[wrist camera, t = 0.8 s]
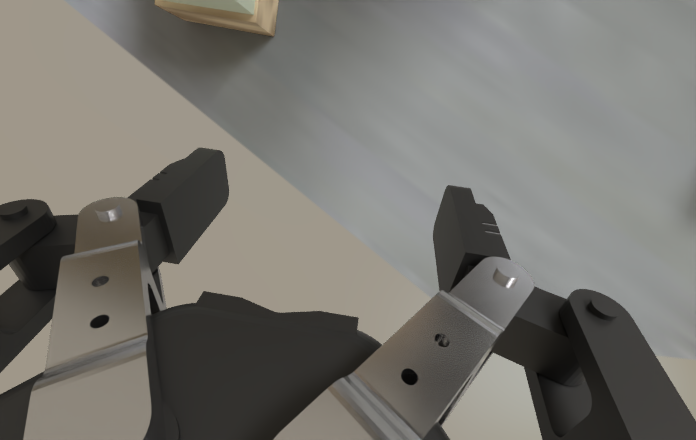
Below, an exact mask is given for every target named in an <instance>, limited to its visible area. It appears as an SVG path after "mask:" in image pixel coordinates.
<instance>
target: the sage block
mask: <svg viewBox="0 0 696 440" xmlns="http://www.w3.org/2000/svg"><path fill="white" fill-rule="evenodd" d="M163 1H169V2H175V3H181V4H188V5H194V6H200V7H206V8H213V9H219V10H225V11H231V12H238V13H244V14H250V15H254V9H255V0H163Z"/></svg>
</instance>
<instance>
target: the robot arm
mask: <svg viewBox="0 0 696 440" xmlns="http://www.w3.org/2000/svg"><path fill="white" fill-rule="evenodd" d="M228 196H229V186H228V179H227V173H226V164H225V158H224V154H223V152H222V151H220V150H213V149H206V148H198V149H197V150H195V151H194V152H193V153H191V154H190V155H189V156H188V157H186V158H185V159H182V160H179V161H177V162H175V163H172V164H170V165H168V166H167V167H166V168H164V169H163V170H162V171H161V172H160V173H158V174H157V175H156V176H154V177H153V179H152V180H149V181H148V182H147V183H145V184H144V185H143V186H142V187H140V188H139V189H138V190H137V191H135V192H134V193H133V194H131V195H130V196H129V197H128V198H123V197H113V198H106V199H102V200H99V201H96V202H93V203H91V204H89V205H87V206H86V207H84V208H83V209H82V210H81V211H80V213H79V215H60V216H59V215H58V216H53V214H52V212H51V210H50V208H49V206H48V205H47V204H46V203H45V202H43V201H41V200H34V199H27V200H18V201H13V202H9V203H5V204H2V205H0V270H1V269H3V268H4V267H5V266H7V265H8V264H9V265H10V267H11V268H12V270H13V271H14V272H15V274H16V275H17V277H18V278H19V280H18V281H17V282H16V283H15V284H13V285H12V286H11V287H10V288H9V289H8V290H6V291H5V292H4V293H3V294H2V295H0V373H1V371H2V370H3V369H4V368H5V367H6V366H7V365H8V364H9V363H10V362H11V361H12V360H13V359H14V358H15V357H16V356H17V355H18V354H19V353H20V352H21V351H22V350H23V348H24V347H25V346H26V345H27V344H28V343H29V342H30V341H31V340H32V339H33V338H34V337H35V336H36V335H37V334H38V333H39V332H40V331H41V330H42V329H43V327H44V326H45V325H46V324H47V323H48V322H49V321H50V320H51V319H52V325H51V332H50V339H49V346H48V353H47V361H46V367H45V371H44V372H42V373H40V374H38V375H36V376H35V377H33V378H31V379H29V380H27V381H25V382H23V383H21V384H19V385H18V386H16V387H14V388H12V389H10V390H8V391H6V392H4V393H3V394H0V440H450V439H449V437H448V436H447V434H446V433H445V431H444V430H443V428H442V426H443V424H444V423H445V421H446V420H447V418H448V417H449V416H450V414H451V413H452V411H453V410H454V408H455V407H456V405H457V404H458V402H459V401H460V399H461V398H462V396H463V395H464V393H465V392H466V390H467V389H468V388H469V386H470V385H471V383H472V382H473V381H474V379H475V378H476V376H477V375H478V373H479V372H480V370H481V369H482V368H483V366H484V365H485V364H486V362H487V361H488V359H489V358H490V357H491V355H492V354H493V353H496V354H498V355H500V356H502V357H504V358H506V359H509V360H511V361H513V362H515V363H517V364H519V365H522V366H524V369H525V372H526V376H527V380H528V384H529V388H530V392H531V396H532V400H533V404H534V408H535V412H536V416H537V419H538V423H539V428H540V431H541V435H542V439H543V440H696V421H695V419H694V418H693V416H692V414H691V413H690V411H689V409H688V408H687V406H686V405H685V403H684V401H683V400H682V398H681V397H680V395H679V393H678V392H677V390H676V389H675V387H674V385H673V384H672V382H671V381H670V379H669V377H668V375H667V374H666V372H665V371H664V369H663V367H662V366H661V364H660V362H659V361H658V359H657V358H656V356H655V354H654V353H653V351H652V349H651V348H650V346H649V345H648V343H647V341H646V340H645V338H644V336H643V335H642V333H641V332H640V330H639V328H638V327H637V325H636V323H635V322H634V320H633V319H632V317H631V316H630V314H629V313H628V312H627V311H626V310H625V309H624V308H623V307H622V306H621V305H620V304H618V303H617V302H616V301H614V300H613V299H611V298H609V297H607V296H606V295H603V294H601V293H599V292H596V291H592V290H587V289H579V290H575V291H573V292H572V293H571V294H570V296H569V297H568V298H567V299H565V298H562V297H559V296H557V295H554V294H552V293H549V292H546V291H544V290H541V289H539V288H537V287H535V286H534V280H533V278H532V276H531V275H530V274H529V272H528V271H527V270H526V269H525V268H523V267H522V266H521V265H519V264H517V263H516V262H514V261H511V259H510V257H509V254H508V252H507V249H506V247H505V244H504V242H503V239H502V236H501V235H500V231H499V229H498V226H496V225H497V224H496V221H495V219H494V216H493V214H492V213H491V212H490V211H489V210H488V209H487V208H486V207H485V206H484V205H482V204H476V203H475V200H474V197H473V194H472V191H471V189H470V188H464V187H457V186H451V185H448V186H447V187H446V190H445V192H444V195H443V199H442V202H441V205H440V208H439V211H438V214H437V217H436V221H435V225H434V231H433V241H434V249H435V257H436V265H437V274H438V282H439V290H440V292H438V293H437V294H436V295H435V296H434V297H433V298H432V299H431V300H430V301H429V302H428V303H426V304H425V306H423V307H422V308H421V309H420V310H419V311H418V312H417V313H416V314H415V315H414V316H413V317H412V318H411V319H409V320H408V321H407V322H406V323H405V324H404V325H403V326H402V327H401V328H400V329H399V330H398V331H397V332H396V333H395V334H393V335H392V336H391V337H390V338H389V339H388V340H387V341H386V342H385V343H384V344H383V345H382V344H380V343H379V342H378V341H376V340H375V339H374V338H372V337H370V336H369V335H367V334H365V333H363V332H361V331H358V330H357V326H358V318H357V317H351V316H346V315H339V314H333V313H328V312H322V311H312V312H291V313H277V312H274V311H271V310H269V309H266V308H264V307H261V306H259V305H257V304H255V303H252V302H250V301H248V300H245V299H243V298H240V297H235V296H228V295H222V294H217V293H211V292H205V291H204V292H203V293H202V295H201V296H200V298H199V300H198V301H197V303H191V304H184V305H179V306H175V307H171V308H168V309H167V308H166V303H165V296H164V291H163V285H162V279H161V273H160V270H159V267H158V266H159V265H160V264H161V263H162V262H168V263H174V264H179V263H180V261H181V260H182V259H183V258H184V257H185V255H186V254H187V253H188V251H189V250H190V249H191V248H192V246H193V245H194V244H195V243H196V241H197V240H198V239H199V238H200V236H201V235H202V234H203V232H204V231H205V230H206V229H207V227H208V226H209V225H210V224H211V222H212V221H213V220H214V219H215V217H216V216H217V215H218V213H219V212H220V211H221V210H222V208H223V207H224V206H225V204H226V202H227V200H228Z"/></svg>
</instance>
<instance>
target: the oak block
mask: <svg viewBox="0 0 696 440" xmlns="http://www.w3.org/2000/svg"><path fill="white" fill-rule="evenodd" d="M278 2H279V0H255V9H254V15H250V14H244V13H238V12H231V11H225V10H219V9H213V8H206V7H200V6H194V5H188V4H181V3H175V2H169V1H163V0H155V5H156V6H158V7H160V8H162V9H164V10H166V11H168V12H169V13H171V14H173V15H175V16H177V17H179V18H181V19H183V20H186V21H191V22H197V23H202V24H208V25H213V26H218V27H224V28H229V29H235V30H240V31H246V32H251V33H257V34H262V35H268V36H273V37H274V34H275V26H276V18H277V10H278Z"/></svg>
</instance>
